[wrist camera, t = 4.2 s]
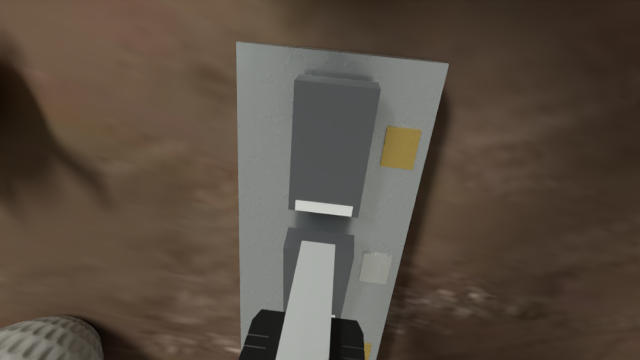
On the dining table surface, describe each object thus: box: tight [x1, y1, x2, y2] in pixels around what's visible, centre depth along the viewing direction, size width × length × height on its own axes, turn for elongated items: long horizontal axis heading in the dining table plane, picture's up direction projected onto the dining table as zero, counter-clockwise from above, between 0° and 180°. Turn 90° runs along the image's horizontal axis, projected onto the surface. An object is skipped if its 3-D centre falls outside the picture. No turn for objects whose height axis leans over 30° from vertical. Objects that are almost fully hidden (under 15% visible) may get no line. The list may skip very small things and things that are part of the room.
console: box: [236, 42, 449, 360], centre depth 30 cm, size 34×14×6 cm, turn 175°
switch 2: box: [283, 227, 354, 318], centre depth 26 cm, size 9×5×2 cm, turn 175°
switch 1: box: [288, 74, 381, 218], centre depth 21 cm, size 9×5×2 cm, turn 175°
